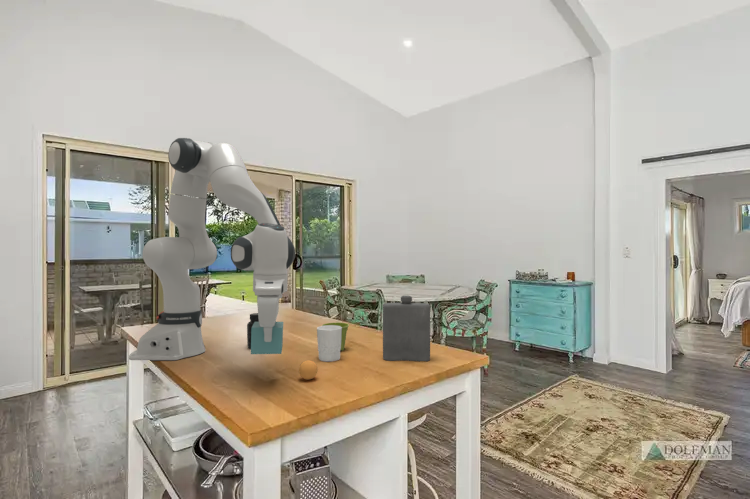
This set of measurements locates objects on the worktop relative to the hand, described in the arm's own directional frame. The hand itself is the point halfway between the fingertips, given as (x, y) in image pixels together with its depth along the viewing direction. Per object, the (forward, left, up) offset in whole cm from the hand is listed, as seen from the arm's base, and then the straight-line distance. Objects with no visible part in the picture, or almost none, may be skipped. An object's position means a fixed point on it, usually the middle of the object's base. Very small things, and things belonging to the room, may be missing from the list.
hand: (269, 337), depth 106 cm
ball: (+10, 0, -9) cm, 14 cm away
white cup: (+17, +19, -12) cm, 28 cm away
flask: (+41, +14, -12) cm, 45 cm away
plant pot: (+20, +30, -12) cm, 38 cm away
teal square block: (-1, 0, -3) cm, 4 cm away
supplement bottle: (-7, +39, -12) cm, 41 cm away
